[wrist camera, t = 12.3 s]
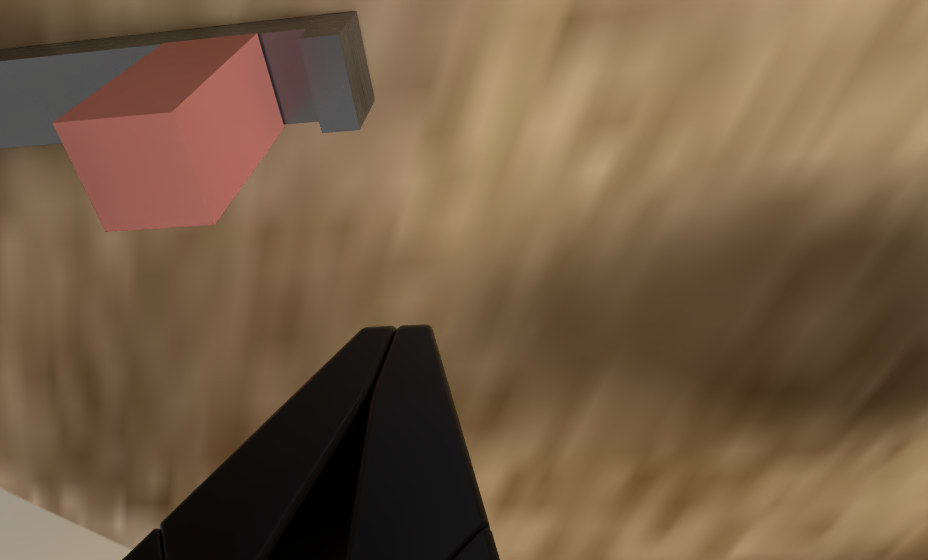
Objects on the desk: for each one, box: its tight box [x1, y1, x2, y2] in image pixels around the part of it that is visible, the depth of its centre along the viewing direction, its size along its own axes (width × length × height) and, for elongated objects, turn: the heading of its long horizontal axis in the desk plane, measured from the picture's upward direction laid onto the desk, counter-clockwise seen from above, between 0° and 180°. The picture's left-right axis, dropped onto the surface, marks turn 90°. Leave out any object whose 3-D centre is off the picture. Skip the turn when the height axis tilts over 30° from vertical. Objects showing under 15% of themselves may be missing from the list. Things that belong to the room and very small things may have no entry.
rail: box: [0, 11, 375, 149], centre depth 19 cm, size 13×2×2 cm, turn 97°
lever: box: [53, 33, 284, 232], centre depth 16 cm, size 2×2×5 cm
